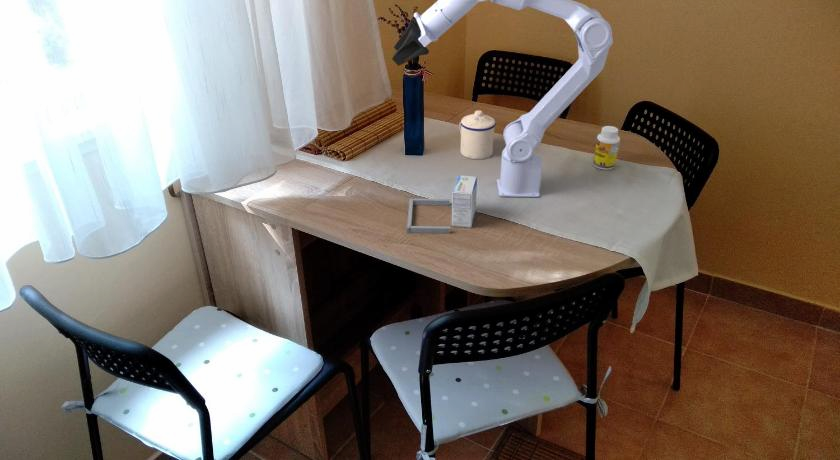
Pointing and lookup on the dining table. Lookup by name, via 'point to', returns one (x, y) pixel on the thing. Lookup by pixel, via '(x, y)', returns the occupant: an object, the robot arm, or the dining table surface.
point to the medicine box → (464, 201)
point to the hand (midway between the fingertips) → (396, 56)
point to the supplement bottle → (606, 148)
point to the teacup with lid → (477, 135)
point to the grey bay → (426, 228)
